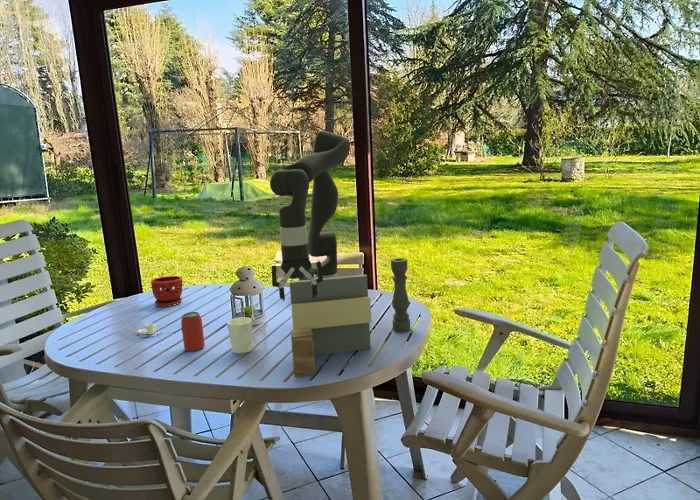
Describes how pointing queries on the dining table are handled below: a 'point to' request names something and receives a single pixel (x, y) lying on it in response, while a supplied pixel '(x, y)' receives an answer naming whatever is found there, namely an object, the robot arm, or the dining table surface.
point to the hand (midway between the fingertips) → (298, 298)
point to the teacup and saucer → (148, 329)
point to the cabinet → (303, 352)
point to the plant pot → (167, 290)
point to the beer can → (192, 331)
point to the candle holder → (400, 295)
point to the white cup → (241, 334)
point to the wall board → (333, 313)
